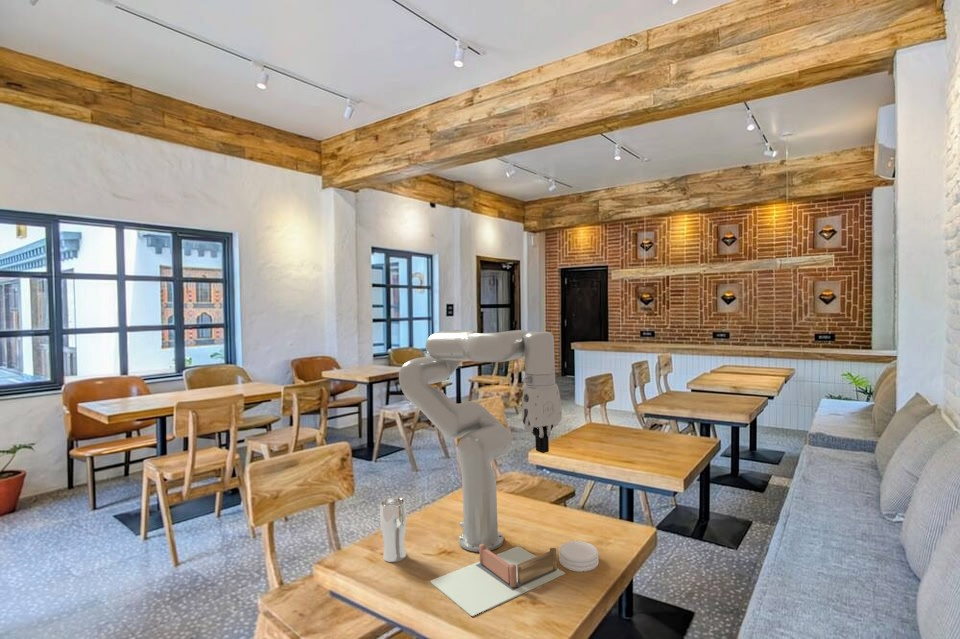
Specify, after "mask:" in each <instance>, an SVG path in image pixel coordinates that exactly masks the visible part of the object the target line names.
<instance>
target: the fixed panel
mask: <svg viewBox="0 0 960 639" xmlns="http://www.w3.org/2000/svg"><path fill="white" fill-rule="evenodd" d="M557 565H558V564H557V548H556V547H550V548H549V551H547V552H545V553H542V554H539V555H537V556H536V557H534V558H532V559H530V560H527V561H525V562H523V563H520V564H518V565H517V572H518V583H519V584H522V583H525V582H527V581H529V580H531V579H533V578H536V577H538V576H540V575H542V574H544V573H547V572H549V571H551V570H553V571H555V570H557V569H558V568H557Z"/></svg>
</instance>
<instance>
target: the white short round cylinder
mask: <svg viewBox="0 0 960 639" xmlns="http://www.w3.org/2000/svg"><path fill="white" fill-rule="evenodd" d="M558 553H559V554H558V557H559V559H558V561H559V563H560V565H561V566H562V567H564V569H567V570H570V571H573V572H581V573H582V572H583V571H584V572H589V571H592V570H594V569H596V568H597V567H598V566H599V562H600V561H599V550H598V548H597V547H596V546H595V545H593V544H591V543H589V542H585V541H580V540H575V541H567V542H565V543H563V544H561V545H560V547H559V549H558ZM584 572H583V573H584Z"/></svg>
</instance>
